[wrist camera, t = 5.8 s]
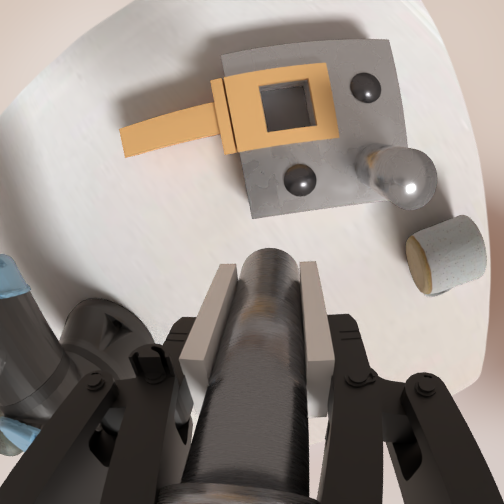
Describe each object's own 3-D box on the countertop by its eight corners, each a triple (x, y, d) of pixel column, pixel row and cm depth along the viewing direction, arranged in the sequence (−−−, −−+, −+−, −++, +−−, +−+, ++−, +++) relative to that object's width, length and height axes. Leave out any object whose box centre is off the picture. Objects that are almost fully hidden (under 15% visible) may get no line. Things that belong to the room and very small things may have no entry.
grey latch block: (254, 208, 33) (244, 251, 22) (227, 64, 27) (200, 28, 16) (396, 189, 31) (451, 221, 20) (376, 48, 25) (424, 15, 14)
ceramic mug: (397, 227, 32) (425, 254, 25) (452, 206, 31) (488, 227, 24) (410, 299, 36) (432, 335, 29) (460, 278, 34) (488, 308, 27)
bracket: (147, 170, 32) (127, 177, 27) (134, 111, 29) (113, 110, 25) (329, 136, 29) (339, 137, 25) (318, 72, 27) (325, 62, 22)
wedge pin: (268, 317, 17) (239, 565, 5) (219, 272, 16) (117, 527, 4) (321, 276, 16) (361, 552, 4) (271, 225, 15) (226, 532, 3)
